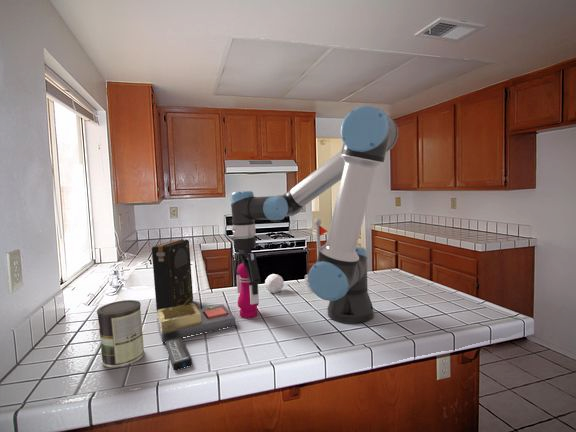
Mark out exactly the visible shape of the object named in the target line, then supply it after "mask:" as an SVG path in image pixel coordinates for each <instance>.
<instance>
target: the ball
mask: <svg viewBox="0 0 576 432" xmlns="http://www.w3.org/2000/svg"><path fill="white" fill-rule="evenodd" d="M284 282H285V281H284V279H283V277H282V276H281V275H279V274H275V273H272V274H269V275H268V276H267V277H266V279H265V280H264V286H265V289H266V291H268V292H270V293H273V294H275V293H276V294H277V293H279V292H281V290H282V289H283V288H284V286H285V285H284V284H285V283H284Z"/></svg>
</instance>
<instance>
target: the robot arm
mask: <svg viewBox="0 0 576 432" xmlns="http://www.w3.org/2000/svg"><path fill="white" fill-rule="evenodd" d="M340 136H341V137H340V138H341V140H342V142H343V143H342V148H341V150H340V151H339V152H337V153H336V154H335V155H334V156H332V157H331V158H330V159H329V160H327V161H325V162H324V163H323V164H322V165H320V166H319V167H318V168H316V169H315V170H314V171H313V172H311V173H310V174H309V175H308V176H306V177H305V178H304V179H302V180H301V181H300V182H299V183H297V184H295V186H293V187H291V189H289V190H288V191H287V192H285V193H284V194H282V195H272V196H271V195H270V196H269V195H268V196H255V195H254V192H253V191H251V190H247V191H246V190H245V191H244V190H241V191H233V192H232V193H231V196H230V198H231V199H230V201H231V203H230V206H231V215H232V217H231V218H232V219H231V220H232V227H231V231H232V237H234V238H233V242H232V243H233V248H234V250H235V256H234V257H235V258H234V265H233V267H234V268H233V271H234V273H235V275H236V276H235V277H236V292H237V294H240V292H241V282H240V278H239V277H240V275H239V274H238V266H239V265H240V264H241V263H243V265H244V267H246V270H247V273H248V277H249V280H250V283H249V286H250V304H251V305H252V304H257V303H259V304H260V297H259V296H260V295H259V293H260V292H259V284H262V281H261V275H260V272H259V267H258V263H257V254H256V253H255V252H254V253H253V251H252V250H253V249H256V247H257V240H256V237H255V236H256V223H255V221H256V220H261V221H262V220H266V221H267V220H269V221H281V220H284V219H285V217H293V216H295V215H297V214H299V213H300V212H301V211H302V209H303V208H304V207H305V206H307V205H308V204H310V202H312V201H313V200H315V199H316V198H317V197H319V196H320V195H322V194H324V193H325V192H326V191H327V190H329V189H330V188H332V187H333V186H334V185H336V184H337V183H339V185H338V190H337V195H336V200H335V203H334V207H333V212H332V213H333V214H332V217H331V221H330V227H329V230H328V234H327V239H326V242H325V244H323V245H322V246H321V247H320V249H319V254H318V258H317V257H316V262H315V263H314V264H313V265H312V266H311V267H310V268H309V271H308V273H307V275H308V282H309V285H310V287H311V288H312V290H313V292H312V293H313V294H314V295H315V296H317V297H318V298H320V299H322V300H324V301H326V302H327V301H328V306H327V316H328V317H329V319H331V320H333V321H335V322H338V323H341V324H342V323H343V324H361V323H366V322H369V321H371V320H372V319H373V318H374V316H375V312H374V311H375V310H374V306H373V304H372V299H371V297H370V295H369V288H368V287H369V286H368V284H369V283H368V253H367V250H366V248H364V247H363V246H362V247H361V246H358V242H359V238H360V235H361V231H362V226H363V221H364V218H365V215H366V210H367V207H368V202H369V197H370V194H371V191H372V186H373V183H374V180H375V179H374V177H375V175H376V171H377V168H379V167H380V166H382V165H383V164H384V163H385V160H386V159H385V157H386V155H387V153H388V152H390V150H392V149H393V147H395V145H396V143H397V140H398V137H399V128H398V125H397V123H396V121H395V120H394V118H393V117H391V116H390V115H388V114H387V113H386V112H385V111H384V110H382V109H381V108H379V107H376V106H373V105H361V106H358V107H356V108H354V109H352V110H351V111H350V112H348V113H347V114H346V115H345V117H344V119H343V121H342V122H341V126H340Z"/></svg>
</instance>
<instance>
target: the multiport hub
mask: <svg viewBox="0 0 576 432" xmlns="http://www.w3.org/2000/svg"><path fill="white" fill-rule="evenodd" d="M165 347H166V352H167V351H168V352H167V355H168V354H169V355H168V358H169V360H170V364H171V367H172V370H173V371H174V370H177V371H179V370H178V369H181V368H184V367H187V366H191V365H192V366H193V361H192V359H193V358H192V356H191V355H190V352H189V350H188V348H187V346H186V344H185V341H184V339H182V337H180V338H176V339H172V340H168V341H166V343H165ZM192 366H191V367H192ZM184 369H185V368H184ZM181 370H182V369H181Z"/></svg>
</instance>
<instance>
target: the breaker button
mask: <svg viewBox="0 0 576 432" xmlns="http://www.w3.org/2000/svg"><path fill="white" fill-rule="evenodd" d="M204 314H205V317H206V318H207V319H211V318H215V317H220V316H224V315H227V312H226V311H225V310H224V309H223V308H222V307H221V308H216V309H211V310H206V311H204Z"/></svg>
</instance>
